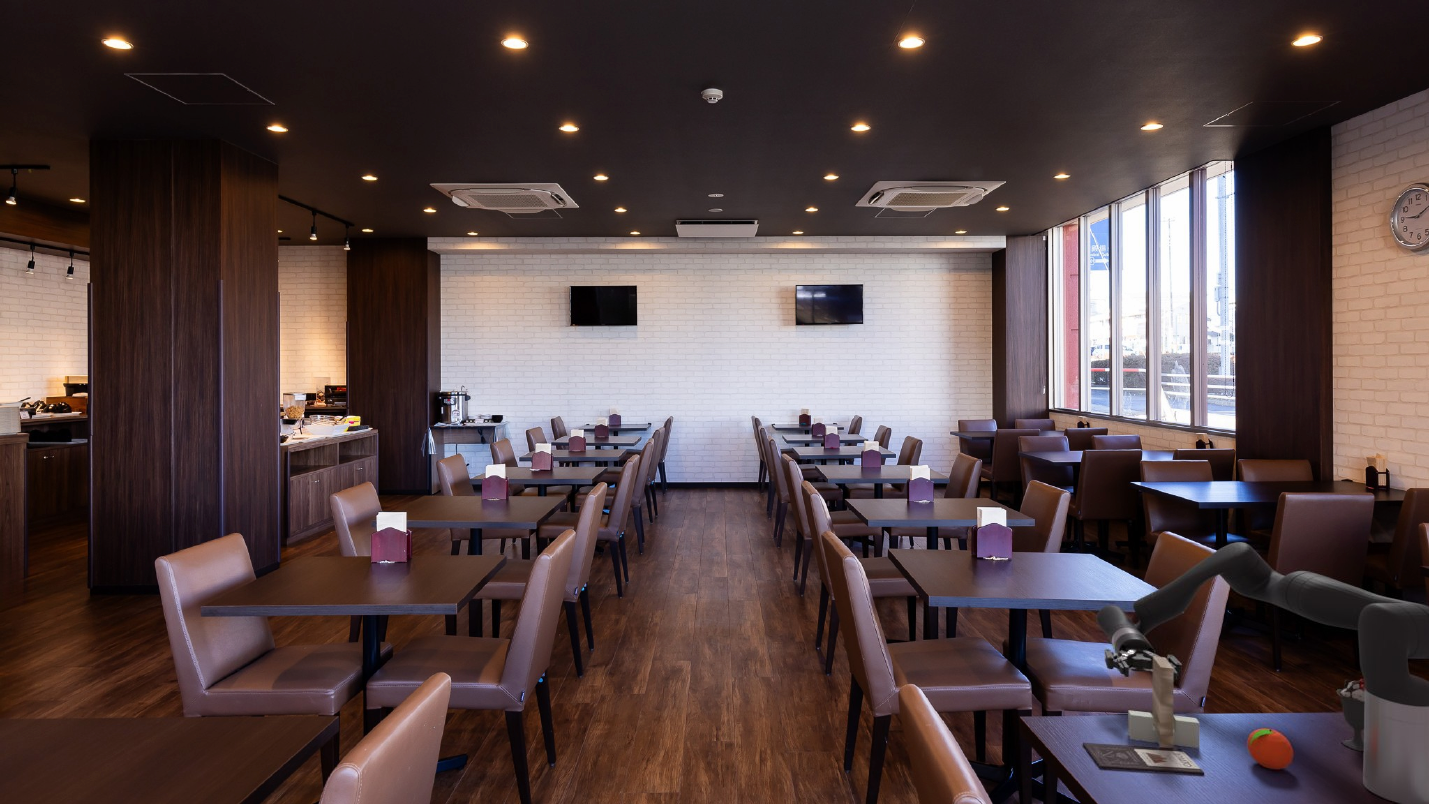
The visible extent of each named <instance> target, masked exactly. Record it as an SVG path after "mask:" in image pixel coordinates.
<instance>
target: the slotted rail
mask: <svg viewBox="0 0 1429 804" xmlns="http://www.w3.org/2000/svg"><path fill="white" fill-rule="evenodd" d="M1127 713H1128V714H1127V716H1128V717H1127V718H1128V719H1127V724H1128V725H1127V731H1128V732H1127V735H1128V734H1129V735H1128V737H1129V736H1130V737H1129V739H1130V738H1131V739H1130V740H1132V739H1138V740H1137V741H1140V740H1142V742H1147V743H1155V742H1158V743H1157V744H1159V732H1158V730H1157V729H1156V727H1155V726H1154V725H1153V716H1152V712H1148V711H1147V712H1145V711H1136V710H1128V711H1127ZM1173 737H1174V746H1181V747H1188V748H1189V747H1190V748H1195V749H1200V722H1199V720H1198V719H1197V718H1196V717H1189V716H1188V717H1187V716H1180V715H1173Z"/></svg>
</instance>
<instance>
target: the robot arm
mask: <svg viewBox="0 0 1429 804" xmlns="http://www.w3.org/2000/svg"><path fill="white" fill-rule="evenodd" d="M1218 576H1220V577H1221V578H1222V579H1223V580H1224V581H1225V582H1226V583H1227V585H1228V586H1229V587H1230V588H1231V589H1232V590H1234V591H1235V592H1236V593H1237V594H1239V595H1241V596H1243V597H1246V598H1252V599H1255V600H1258V601H1262V602H1265V603H1270V604H1272V605H1275V606H1277V607H1279V608H1283V609H1284V610H1287V611H1290V612H1292V613H1294V614H1296V615H1298V616H1301V617H1303V618H1305V619H1307V620H1311V621H1313V622H1316V623H1319V624H1322V625H1323V624H1324V625H1327V626H1330V627H1331V626H1332V627H1336V628H1337V627H1338V628H1343V629H1347V630H1354V631H1357V634H1358V635H1357V636H1358V649H1359V650H1358V651H1359V652H1358V653H1359V667H1360V671H1361V674H1362V677H1363V678H1364V681H1365V708H1364V730H1363V742H1364V752H1363V766H1362V768H1363V770H1362V776H1363V777H1362V784H1363V786H1364V787H1365V788H1366V789H1367V790H1368V791H1370V792H1371V793H1373V794H1375V795H1376V796H1378V797H1380V798H1383V799H1385V800H1388V801H1392V802H1394V803H1398V804H1429V681H1428V680H1426V679H1424V678H1422V677H1419V676H1418V675H1417V676H1416V675H1413V674H1411V673H1410V670H1409V662H1408V659H1413V660H1414V659H1416V660H1417V659H1419V660H1420V659H1422V660H1423V659H1424V660H1425V659H1429V606H1428V605H1425V604H1423V603H1422V604H1421V603H1416V602H1411V601H1407V600H1401V599H1396V598H1391V597H1387V596H1383V595H1379V594H1376V593H1373V592H1371V591H1367V590H1365V589H1362V588H1360V587H1358V586H1357V587H1356V586H1354V585H1351V584H1348V583H1345V582H1342V581H1339V580H1337V579H1333V578H1332V577H1329V576H1325V575H1322V574H1319V573H1315V572H1311V571H1306V570H1298V571H1293V572H1290V573H1288V574H1286V575H1284V574H1283V575H1282V574H1281V573H1279V572H1277V571H1276V570H1274V569H1273V568H1272V567H1271V566H1270V565H1269V564H1268V563H1267V562H1266V560H1265V559H1264V558H1262V557H1261V555H1260V554H1259V553H1258V552H1257V551H1256V550H1255V549H1254V548H1253V547H1252V546H1251V545H1250V544H1248V543H1246V542H1241V541H1238V542H1237V541H1236V542H1233V543H1229V544H1227V545H1225V546H1223V547H1220V548H1219V549H1218V550H1216V551H1215V552H1213V553H1211V554H1210V555H1209V556H1207V557H1206V558H1204V559H1202V560H1201V561H1200V562H1198V563H1197V564H1195V565H1194V566H1192V567H1191V568H1190V569H1188V570H1187V571H1186V572H1184V573H1183V574H1181V575H1180V576H1179V577H1177V578H1176V579H1174V580H1173V581H1171V582H1170V583H1168V584H1166V585H1164V586H1162V587H1161V588H1159V589H1157V590H1154V591H1153V592H1151V593H1148V594H1147V595H1145V596H1143V597H1140V598H1139V599H1137V600H1135V601H1134V602H1133V606H1132V607H1133V611H1134V613H1135V614H1136V617H1137V619H1138V622H1137V623H1134V622H1133V620H1132V619H1131V618H1130V617H1129V616H1128V614H1126V612H1125V611H1124V610H1123V609H1122V608H1121V607H1120V606H1117V605H1114V604H1113V605H1109V604H1108V605H1106V606H1103V607H1102V608H1100V609H1099V610H1098V612H1097V614H1096V624H1097V625H1098V627H1099V628H1100V629H1101V631H1103V633H1104V634H1105V635H1106V636H1107V638H1108V640H1109V642H1110V644H1111V646H1112V649H1113V651H1111V649H1107V648H1105V649H1104V662H1105V665H1106V668H1107V669H1109V670H1114V669H1116V670H1117V671H1118V672H1119V673H1120V674H1121V675H1123V676H1124V678H1129V676H1130V671H1133V672H1145V671H1150V672H1151V673H1153V656H1154V657H1161V656H1160V655H1158V654H1156V651H1155V650H1154V648H1153V646H1152V645H1151V643H1150V642H1149V641H1148V639H1147V638H1146V637H1145V636H1146V635H1147V634H1148V633H1149V632H1150V631H1152V630H1153V629H1155V628H1156V627H1157V626H1159V625H1162V624H1164V623H1166V622H1169V621H1171V620H1172V619H1175V618H1176V617H1179V616H1180V615H1182V614H1183V613H1184V612H1185V611H1186V610H1187V609H1188V607H1189V606H1190V605H1191V603H1192V601H1193V599H1194V598H1195V596H1196V595H1197V593H1198V591H1199V590H1200V588H1201V587H1202V586H1203V585H1204V584H1205V583H1207V581H1209V580H1211V579H1213V578H1215V577H1218ZM1165 658H1166V659H1167V661H1168V662H1169V663H1170V664H1171V666H1172V667H1173V668H1174V671H1173V683H1174V682H1175V681H1176V680H1178V677H1182V675H1183V674H1182V673H1183V671H1182V670H1183V669H1182V667H1183V666H1182V665H1183V664H1182V663H1181V662H1180V661H1179V659H1177V658H1176V657H1175V656H1174V655H1173V654H1167V657H1165Z"/></svg>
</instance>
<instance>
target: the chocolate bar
mask: <svg viewBox="0 0 1429 804" xmlns="http://www.w3.org/2000/svg"><path fill="white" fill-rule="evenodd" d="M1082 746H1083V747H1084V749H1085V748H1086V749H1085V750H1086V752H1087V751H1088V752H1087V753H1088V754H1089V756H1090V755H1091V756H1090V757H1091V758H1092V760H1093V759H1094V760H1093V761H1094V762H1095V764H1096V765H1097V767H1098V768H1099V769H1100V770H1112V769H1116V770H1115V771H1131V772H1145V773H1146V772H1147V773H1162V774H1177V775H1193V776H1195V775H1196V776H1205V771H1203V770H1202V768H1201V767H1200V766H1199V765H1197V764H1196V763H1195V762H1194V760H1193V759H1191V757H1190V756H1188V755H1187V753H1185V752H1184V751H1183V750H1182V749H1181V748H1177V747H1174V748H1163V747H1160V746H1157V747H1156V746H1147V745H1145V746H1144V745H1126V744H1111V743H1110V744H1109V743H1108V744H1107V743H1096V742H1095V743H1092V742H1082Z"/></svg>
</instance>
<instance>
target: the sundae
mask: <svg viewBox="0 0 1429 804" xmlns="http://www.w3.org/2000/svg"><path fill="white" fill-rule="evenodd" d="M1343 687H1344V688H1343V689H1339V688H1337V690H1336V694H1337V695H1338V697H1339V698H1340V700H1341V705H1342V712H1343V717H1344V720H1345V722H1346V723H1347V724H1348V725H1349V726H1350V727H1351V728H1353V737H1352V738H1351V740H1345V741H1342V740H1341V741H1342V742H1344V743H1343V744H1346V746H1348V747H1349V748H1348V747H1347V748H1348V749H1350V748H1354V749H1355V750H1354V751H1357V750H1358V751H1357V752H1361V751H1364V739H1363V737H1362V736H1363V735H1362V733H1363V731H1364V708H1365V681H1364V677H1363V678H1361V679H1359V680H1353V681H1352V680H1349V679H1348V678H1347V679H1346V678H1345V680H1344V685H1343ZM1343 744H1342V745H1343ZM1346 746H1345V747H1346Z"/></svg>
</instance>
